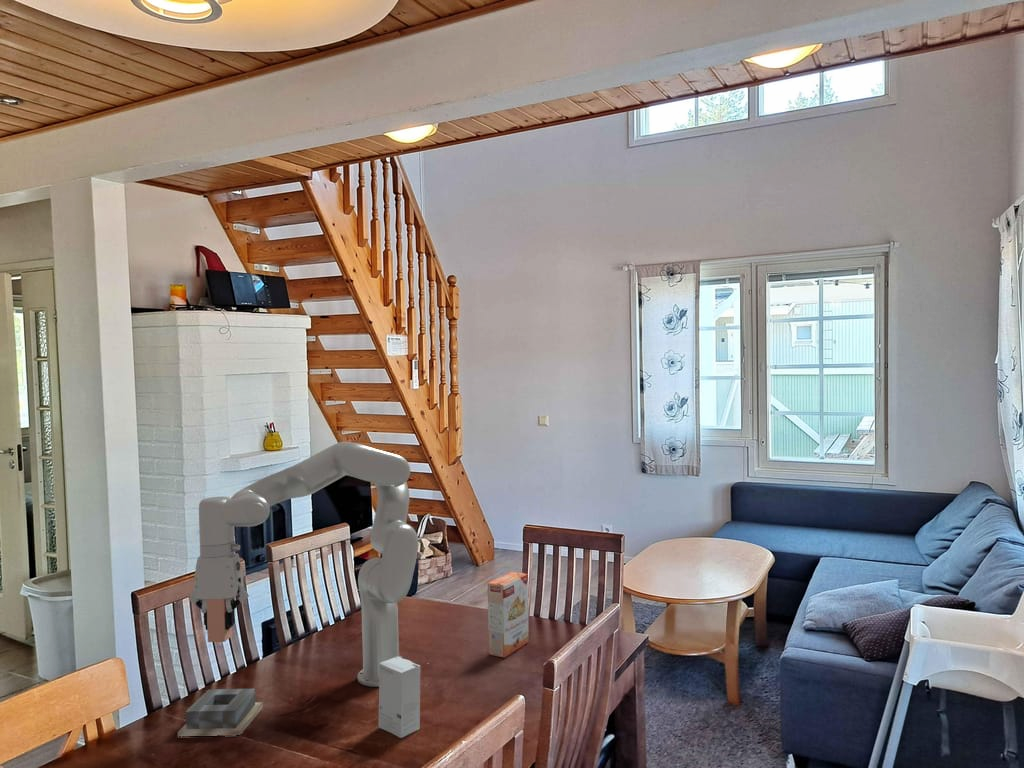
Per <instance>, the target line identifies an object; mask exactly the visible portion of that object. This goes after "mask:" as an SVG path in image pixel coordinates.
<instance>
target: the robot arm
mask: <svg viewBox="0 0 1024 768" xmlns="http://www.w3.org/2000/svg"><path fill="white" fill-rule="evenodd" d="M410 473H411V467H410V464H409V462H408V460H407V459H405V458H404V457H403V456H401V455H399V454H395V453H391V452H388V451H385V450H381V449H376V448H374V447H371V446H368V445H365V444H361V443H358V442H353V441H339V442H337V443H334V444H332V445H330V446H328V447H327V448H325V449H323V450H321V451H319V452H317V453H315V454H313V455H311V456H310V457H308V458H306V459H304V460H302V461H301V462H298V463H297V464H294V465H293V466H290V467H289V466H288V467H286V468H285V469H283V470H280V471H278V472H275V473H272V474H269V475H267V476H265V477H262V478H261V479H259V480H257V481H255V482H253V483H251V484H248V485H247V486H245V487H244V488H242V489H240V490H238V491H236V493H234V494H233V495H232V497H229V496H211V497H207V498H204V499H202V500H200V502H199V504H198V529H199V531H198V532H199V555H200V556H198V557H197V560H196V563H195V564H196V565H195V570H194V571H195V572H194V583H193V584H194V585H193V587H194V588H193V590H192V592H191V593H190V595H189V596H188V601H190V603H193V604H195V606H197V607H198V608H199V609H200V611H201V613H202V614H203V625H204V626H205V631H207V599H224V600H225V604H226V609H227V612H226V613H225V629H226V630H229V629H230V628H231V627H232V628H233V626H234V624H235V622H236V614H235V613H236V612H235V611H236V610H235V609H237V607H238V606H239V605H241V604H242V603H243V602H244V601H246V600H247V599H248V598H249V597H250V595H249V593H248V592H247V591H246V589H245V587H244V586H245V585H244V576H243V575H244V574H243V569H242V568H243V567H242V564H241V558H240V555H239V553H237V551H240V550H241V545H240V544H237V543H236V541H235V527H256V526H258V525H261V524H263V523H265V521H266V520H268V518H269V516H270V513H271V507H272V506H274V505H277V504H278V503H281V502H285V501H286V500H291V499H297V498H304V497H308V496H311V495H312V494H315V493H317V492H318V491H320V490H321V489H323V488H325V487H327V486H329V485H331V484H332V483H334V482H336V481H338V480H340V479H342V478H343V477H346V476H347V477H348V476H349V477H353V478H355V479H358V480H362V481H365V482H370V483H372V484H374V486H375V489H376V492H377V503H376V509H375V515H374V518H373V519H374V520H373V525H372V529H371V534H370V544H371V547H372V548H373V550H374V551H376V552H377V553H380V554H381V557H372V558H371V559H368V560H366V561H365V562H364V563H363V564H362V565H361V567H360V569H359V572H358V576H357V585H358V592H359V597H360V604H361V605H360V606H361V634H362V635H361V637H362V638H361V639H362V641H361V642H362V669H361V670H360V671H359V672H358V674H357V682H358V683H360V684H361V685H363V686H367V687H374V688H375V687H376V688H377V687H378V688H379V670H380V664H379V663H381V662H384V661H387V660H389V659H392V658H395V657H400V658H403V656H402V655H400V646H399V645H400V644H399V643H400V641H399V640H400V639H399V638H400V637H399V611H398V610H399V609H398V603H399V602H401V601H403V599H405V597H406V596H407V595H408V593H409V591H410V589H411V586H412V581H413V576H414V572H415V567H416V564H417V563H416V562H417V557H418V551H419V537H418V533H417V532H416V530H415V528H414V527H413V526H411V525H410V524H408V523H407V520H408V519H407V518H408V513H409V505H410V490H409V487H408V483H407V481H408V480H409V478H410V476H411V474H410ZM237 595H239V597H238V598H236V597H237ZM410 661H411V662H413V661H412V660H410Z"/></svg>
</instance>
